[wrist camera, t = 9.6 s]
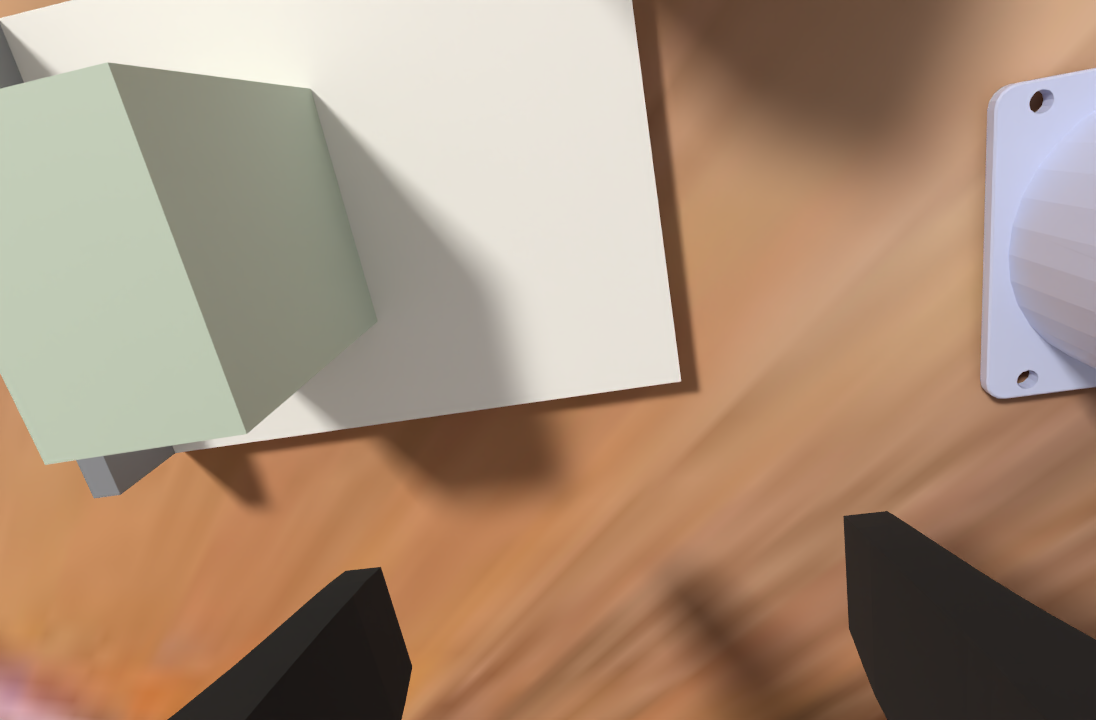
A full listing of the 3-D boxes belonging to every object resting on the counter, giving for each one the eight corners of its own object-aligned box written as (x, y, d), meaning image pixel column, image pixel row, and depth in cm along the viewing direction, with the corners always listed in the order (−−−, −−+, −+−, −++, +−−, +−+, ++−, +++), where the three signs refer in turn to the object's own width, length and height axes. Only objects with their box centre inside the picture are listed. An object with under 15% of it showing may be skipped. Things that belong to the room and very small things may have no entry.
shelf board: (613, -120, 15) (616, -186, 12) (677, 368, 19) (692, 418, 16) (-9, 34, 17) (-149, 13, 14) (160, 443, 21) (80, 499, 18)
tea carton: (310, 88, 16) (107, 62, 9) (377, 321, 18) (246, 433, 11) (147, 125, 17) (-149, 125, 10) (228, 347, 19) (24, 467, 12)
